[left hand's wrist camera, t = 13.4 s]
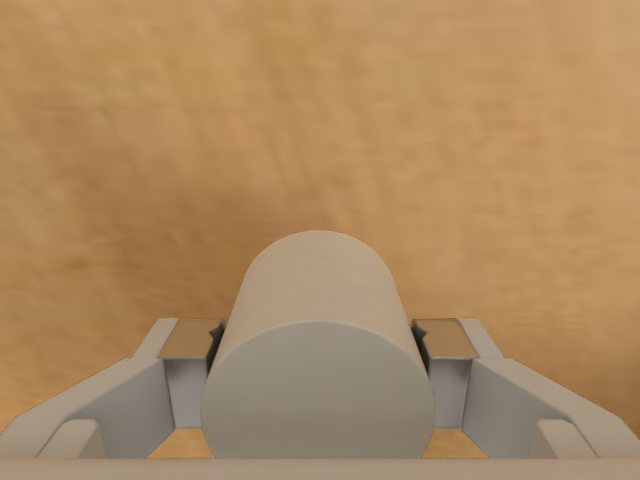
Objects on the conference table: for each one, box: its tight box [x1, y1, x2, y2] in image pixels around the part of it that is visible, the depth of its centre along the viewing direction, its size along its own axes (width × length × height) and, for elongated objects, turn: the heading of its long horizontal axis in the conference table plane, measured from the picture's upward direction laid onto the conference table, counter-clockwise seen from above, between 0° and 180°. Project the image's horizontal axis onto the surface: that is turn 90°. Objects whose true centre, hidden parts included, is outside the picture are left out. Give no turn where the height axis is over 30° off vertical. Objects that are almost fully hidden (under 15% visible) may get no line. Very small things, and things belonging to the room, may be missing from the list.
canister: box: [200, 230, 436, 459], centre depth 10 cm, size 4×4×4 cm
